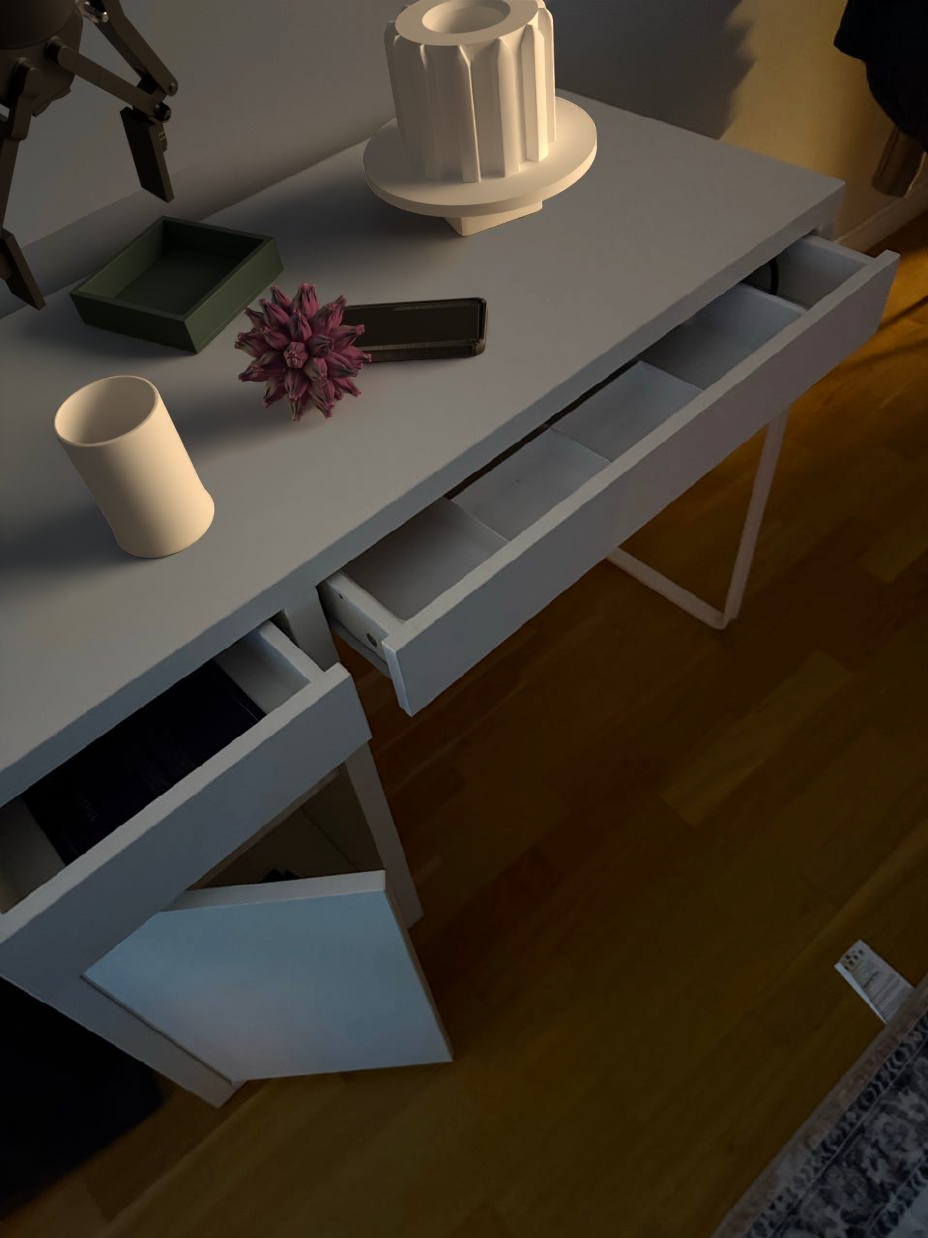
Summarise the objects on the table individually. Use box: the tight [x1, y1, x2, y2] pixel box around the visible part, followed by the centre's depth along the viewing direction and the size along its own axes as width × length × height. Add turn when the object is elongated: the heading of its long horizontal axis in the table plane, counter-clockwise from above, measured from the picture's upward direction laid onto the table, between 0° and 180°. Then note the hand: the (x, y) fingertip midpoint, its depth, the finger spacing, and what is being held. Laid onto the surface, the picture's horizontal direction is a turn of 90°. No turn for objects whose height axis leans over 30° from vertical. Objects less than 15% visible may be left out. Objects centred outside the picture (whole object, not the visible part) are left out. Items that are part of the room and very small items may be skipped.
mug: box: [51, 375, 215, 559], centre depth 73 cm, size 12×8×12 cm
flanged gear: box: [362, 0, 598, 237], centre depth 94 cm, size 25×25×19 cm
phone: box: [339, 296, 489, 362], centre depth 88 cm, size 8×1×15 cm
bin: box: [67, 214, 285, 355], centre depth 96 cm, size 16×16×4 cm
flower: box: [233, 282, 372, 422], centre depth 79 cm, size 12×12×12 cm
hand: (96, 244), depth 68 cm, fingers open, 13 cm apart
